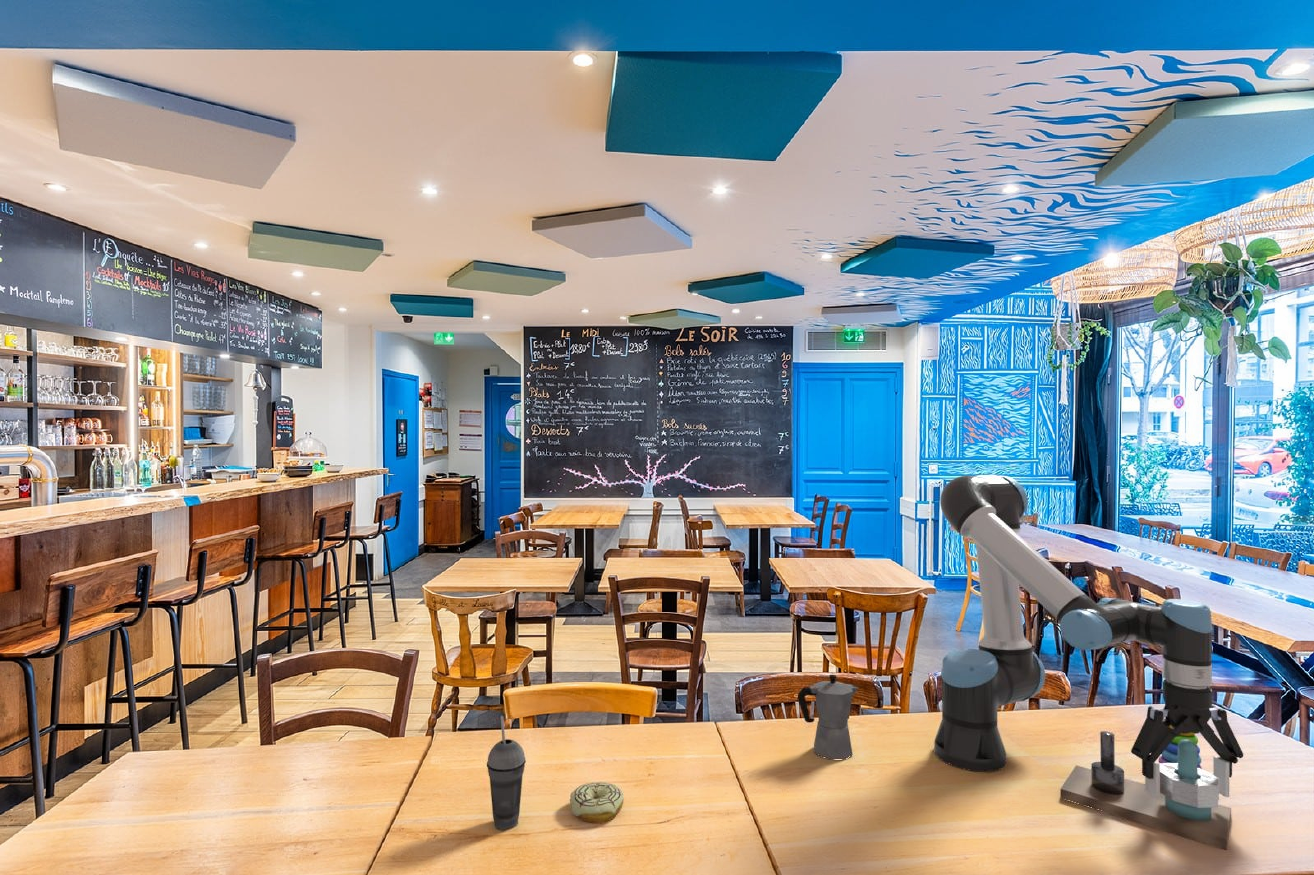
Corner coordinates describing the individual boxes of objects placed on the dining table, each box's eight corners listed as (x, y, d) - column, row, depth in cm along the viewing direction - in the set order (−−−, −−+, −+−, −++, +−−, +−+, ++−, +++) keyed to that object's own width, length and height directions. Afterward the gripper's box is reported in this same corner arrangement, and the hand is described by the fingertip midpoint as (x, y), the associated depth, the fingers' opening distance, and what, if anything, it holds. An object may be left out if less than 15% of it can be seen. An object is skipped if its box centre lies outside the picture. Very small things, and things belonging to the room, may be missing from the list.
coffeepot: (848, 740, 167) (848, 666, 167) (869, 758, 157) (868, 679, 158) (789, 746, 163) (789, 671, 163) (806, 764, 154) (806, 684, 154)
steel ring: (1146, 783, 135) (1146, 763, 135) (1191, 783, 136) (1191, 762, 136) (1183, 808, 126) (1183, 786, 126) (1231, 807, 127) (1231, 785, 127)
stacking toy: (1212, 790, 143) (1211, 699, 143) (1169, 786, 145) (1168, 697, 145) (1191, 772, 151) (1190, 686, 151) (1150, 768, 152) (1149, 684, 153)
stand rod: (1088, 788, 140) (1088, 734, 140) (1094, 778, 144) (1094, 725, 144) (1121, 797, 136) (1121, 742, 136) (1126, 787, 140) (1126, 733, 140)
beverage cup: (506, 838, 125) (506, 728, 125) (478, 827, 129) (478, 720, 129) (533, 820, 131) (533, 715, 131) (505, 809, 135) (506, 707, 135)
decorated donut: (568, 827, 129) (568, 807, 129) (571, 798, 140) (571, 779, 140) (623, 825, 130) (623, 805, 130) (622, 796, 141) (622, 777, 141)
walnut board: (1060, 798, 139) (1060, 788, 139) (1076, 774, 150) (1076, 765, 150) (1226, 850, 122) (1226, 838, 122) (1231, 818, 132) (1231, 808, 132)
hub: (1162, 811, 131) (1162, 740, 131) (1167, 797, 136) (1167, 729, 136) (1209, 825, 126) (1209, 751, 126) (1213, 810, 131) (1212, 739, 131)
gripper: (1138, 690, 127) (1138, 805, 127) (1267, 689, 128) (1268, 803, 128) (1109, 676, 134) (1109, 785, 134) (1232, 675, 135) (1232, 783, 135)
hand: (1187, 794), depth 131 cm, fingers open, 13 cm apart
